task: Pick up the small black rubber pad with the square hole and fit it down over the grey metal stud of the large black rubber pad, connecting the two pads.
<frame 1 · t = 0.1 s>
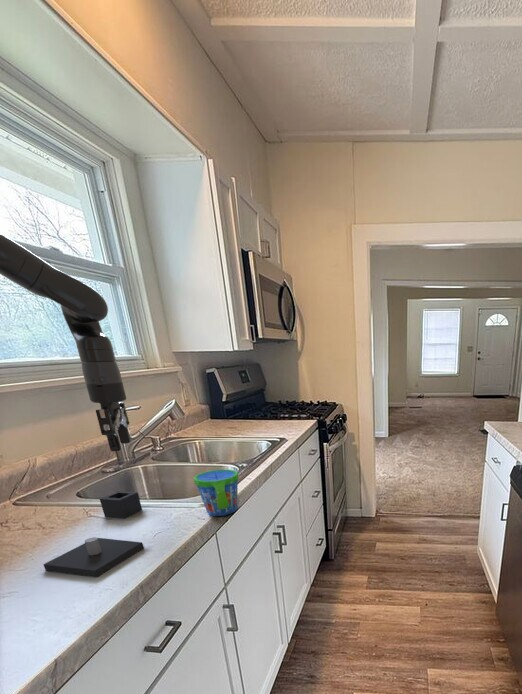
hand: (121, 446, 103), 16 cm above the countertop, tool pointing down, fingers open, 8 cm apart
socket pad: (123, 513, 105), on the countertop
base pad: (97, 559, 82), on the countertop
snack cup: (222, 512, 106), on the countertop
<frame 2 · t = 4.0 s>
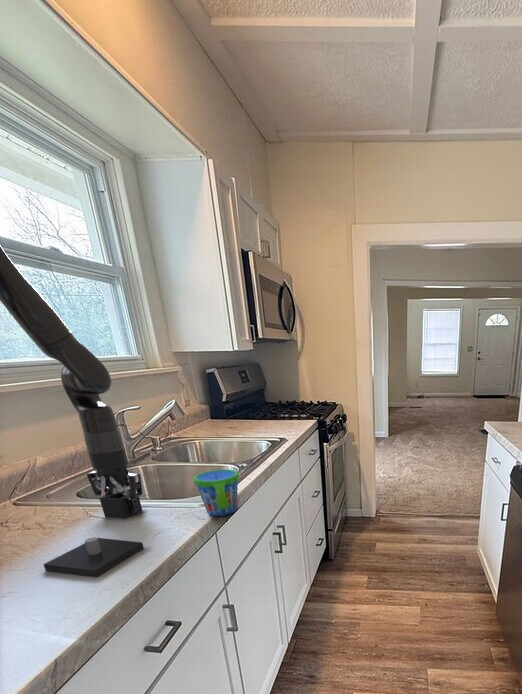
hand: (123, 511, 105), 1 cm above the countertop, tool pointing down, fingers closed on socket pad, 6 cm apart
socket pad: (123, 513, 105), on the countertop, touching gripper
everything else where it was.
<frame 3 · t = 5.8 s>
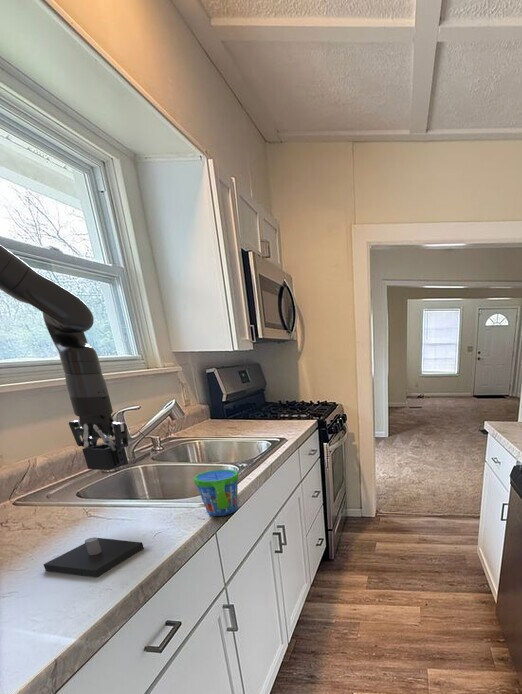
hand: (107, 463, 99), 14 cm above the countertop, tool pointing down, fingers closed on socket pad, 6 cm apart
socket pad: (108, 466, 99), point 13 cm above the countertop, touching gripper
everything else where it was.
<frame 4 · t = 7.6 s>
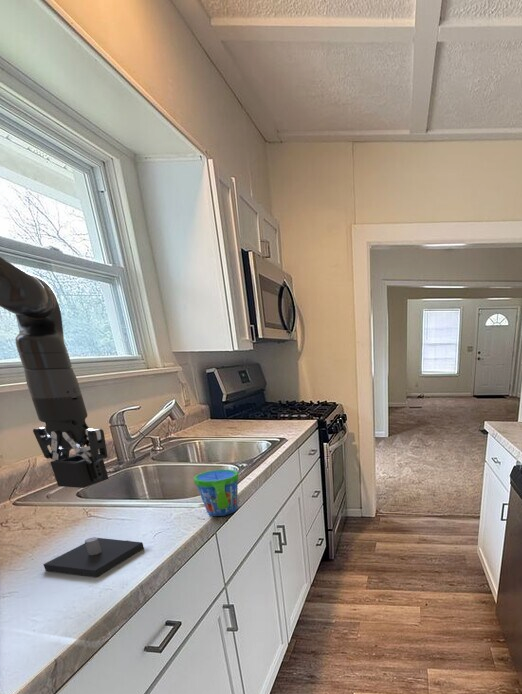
hand: (83, 479, 81), 16 cm above the countertop, tool pointing down, fingers closed on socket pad, 6 cm apart
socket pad: (84, 482, 81), point 15 cm above the countertop, touching gripper
everything else where it was.
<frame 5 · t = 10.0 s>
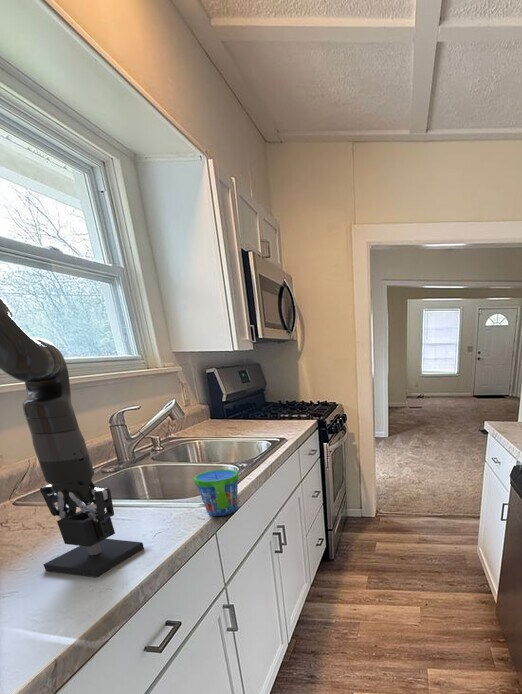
hand: (89, 536, 80), 5 cm above the countertop, tool pointing down, fingers closed on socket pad, 6 cm apart
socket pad: (90, 538, 81), point 5 cm above the countertop, touching gripper
everything else where it was.
when the fingers open (2 cm above the countertop, at t = 11.7 s): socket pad stays where it is, resting on base pad.
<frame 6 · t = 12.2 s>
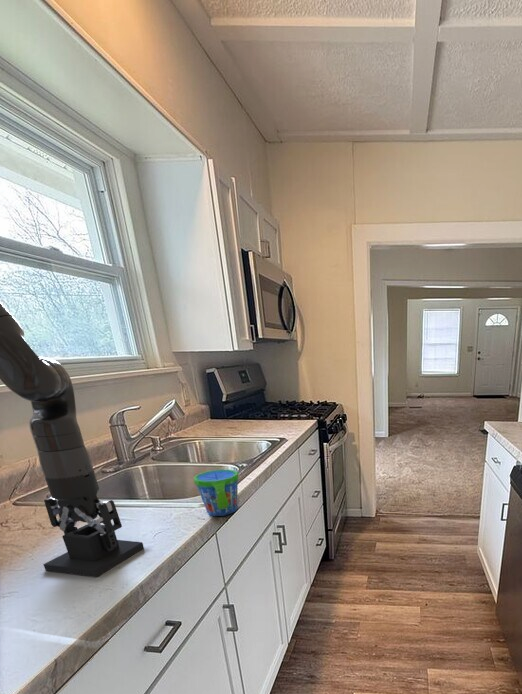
hand: (93, 547, 81), 3 cm above the countertop, tool pointing down, fingers open, 8 cm apart
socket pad: (95, 552, 82), point 2 cm above the countertop, touching base pad
base pad: (97, 559, 82), on the countertop, touching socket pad
everything else where it was.
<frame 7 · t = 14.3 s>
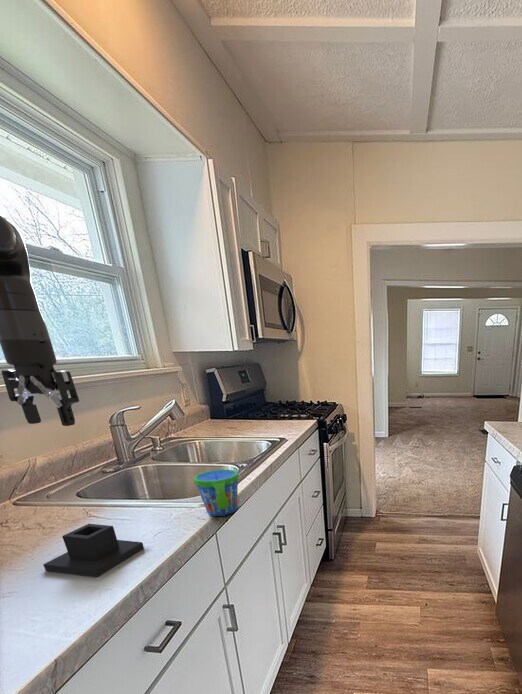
hand: (52, 424, 82), 26 cm above the countertop, tool pointing down, fingers open, 8 cm apart
nothing on the countertop moved.
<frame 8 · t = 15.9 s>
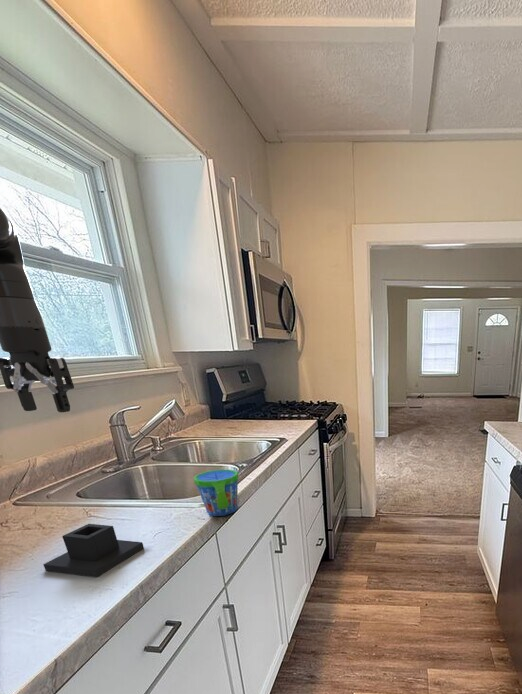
hand: (47, 411, 83), 28 cm above the countertop, tool pointing down, fingers open, 8 cm apart
nothing on the countertop moved.
at the end: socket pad 0.1 cm off-centre on the base pad, point 1.5 cm above the base pad's base; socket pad tilted 0°; the gripper is holding nothing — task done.
